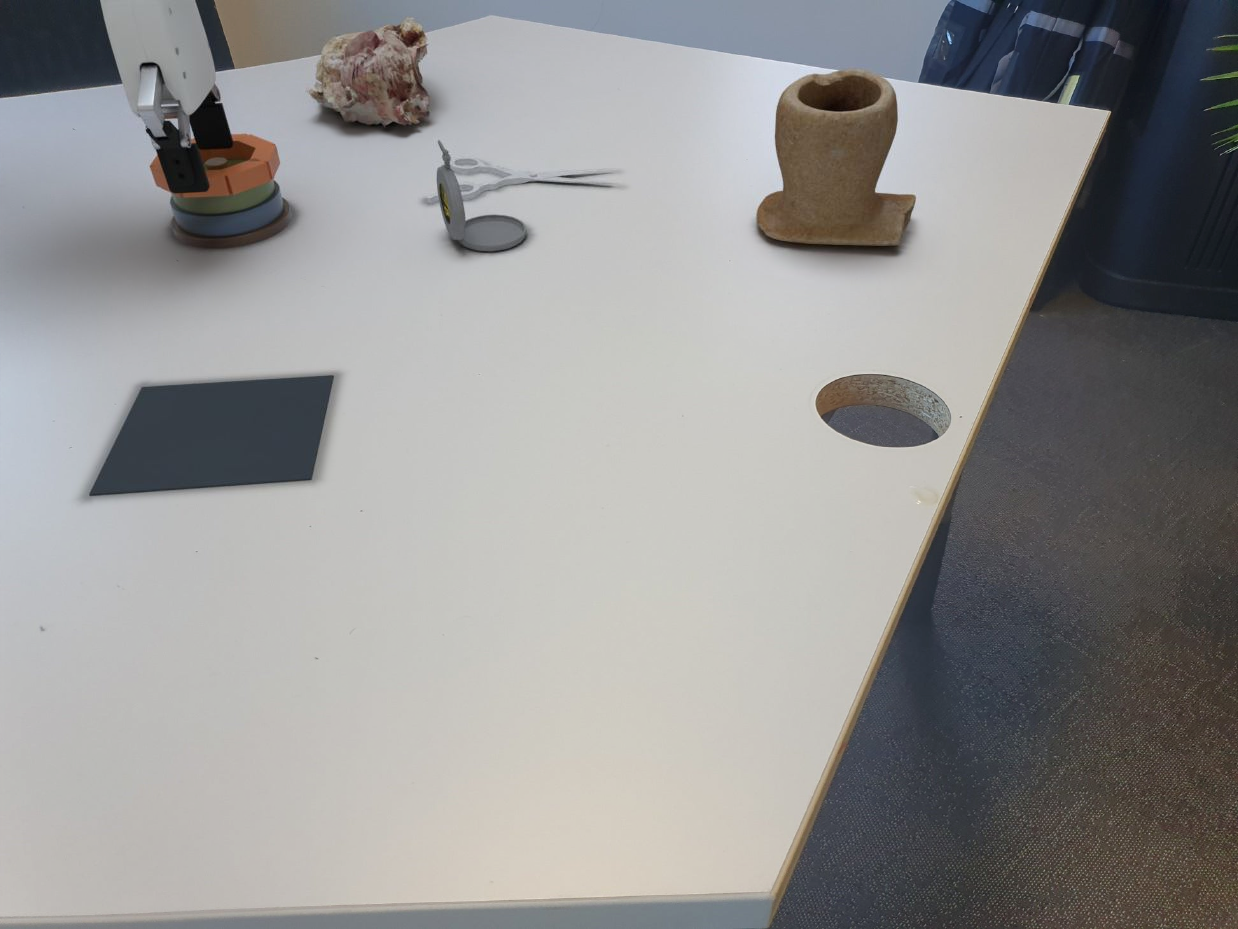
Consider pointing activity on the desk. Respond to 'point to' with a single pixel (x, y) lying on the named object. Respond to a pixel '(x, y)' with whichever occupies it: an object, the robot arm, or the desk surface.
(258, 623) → the desk surface
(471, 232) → the pocket watch
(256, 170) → the ring
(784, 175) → the stone cup
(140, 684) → the desk surface
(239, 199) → the stack
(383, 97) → the mineral formation
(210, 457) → the mat
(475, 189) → the scissors
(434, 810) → the desk surface
